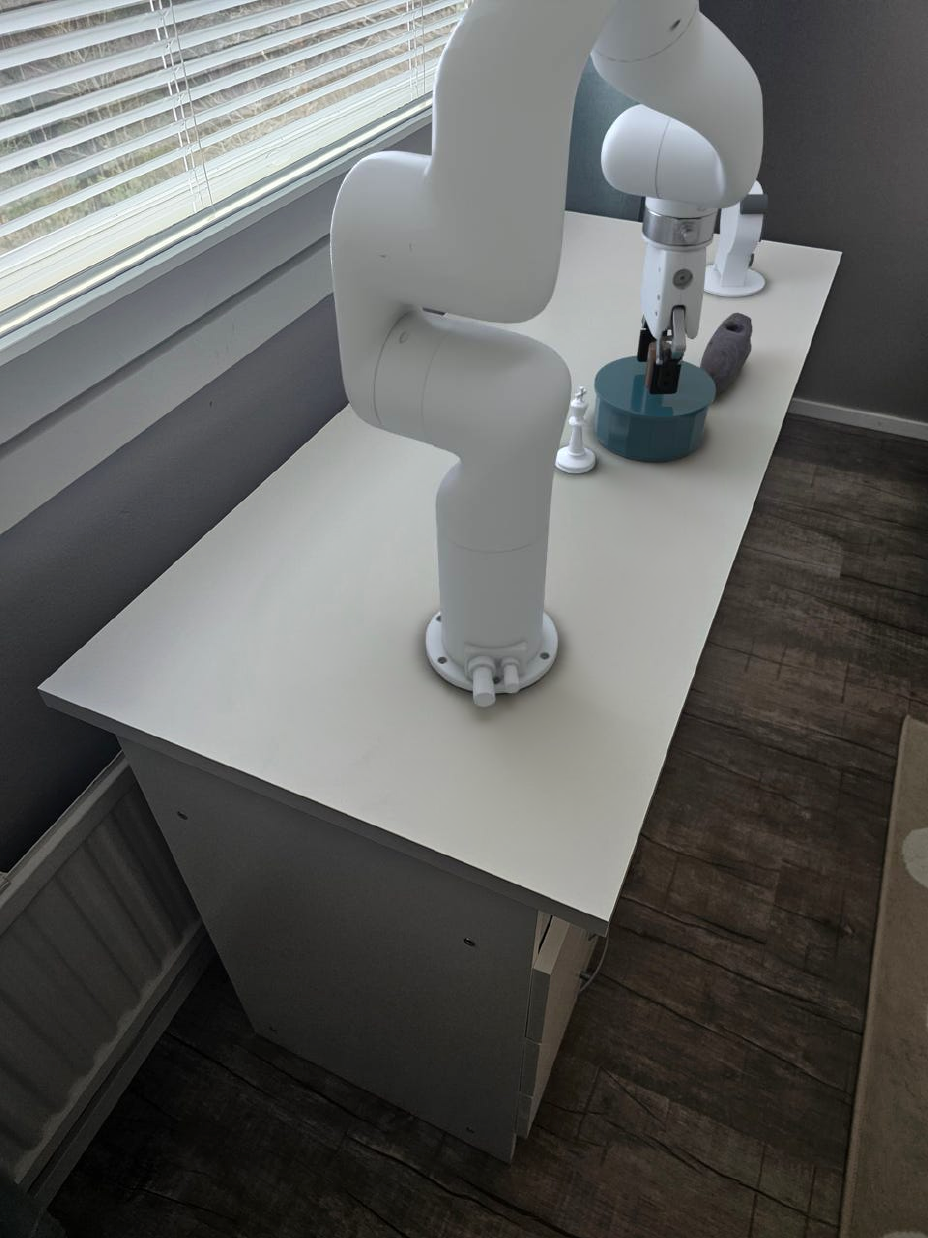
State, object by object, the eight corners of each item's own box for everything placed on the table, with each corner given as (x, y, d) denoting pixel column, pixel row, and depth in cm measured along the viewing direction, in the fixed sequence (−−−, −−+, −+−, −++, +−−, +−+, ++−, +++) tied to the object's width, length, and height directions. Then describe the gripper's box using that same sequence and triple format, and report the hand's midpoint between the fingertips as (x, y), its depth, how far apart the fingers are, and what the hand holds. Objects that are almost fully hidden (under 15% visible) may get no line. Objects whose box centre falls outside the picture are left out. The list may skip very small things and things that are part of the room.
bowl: (713, 459, 107) (723, 416, 102) (602, 464, 106) (607, 420, 102) (688, 401, 116) (696, 359, 112) (586, 405, 116) (590, 362, 112)
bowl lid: (727, 422, 103) (738, 374, 98) (603, 427, 102) (608, 378, 98) (698, 361, 113) (707, 314, 109) (585, 365, 113) (589, 319, 108)
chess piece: (603, 460, 107) (611, 386, 100) (578, 478, 104) (585, 403, 97) (571, 445, 109) (577, 371, 102) (545, 462, 107) (550, 388, 100)
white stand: (772, 298, 137) (796, 196, 127) (698, 298, 138) (716, 197, 127) (756, 265, 146) (777, 168, 135) (686, 266, 146) (702, 168, 136)
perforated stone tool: (719, 412, 114) (729, 363, 109) (680, 402, 116) (688, 353, 111) (753, 361, 123) (764, 314, 118) (716, 353, 125) (725, 305, 120)
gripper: (735, 255, 87) (704, 414, 100) (695, 192, 100) (671, 340, 112) (660, 258, 87) (638, 416, 100) (628, 194, 100) (612, 342, 112)
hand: (656, 375), depth 106 cm, fingers open, 6 cm apart
